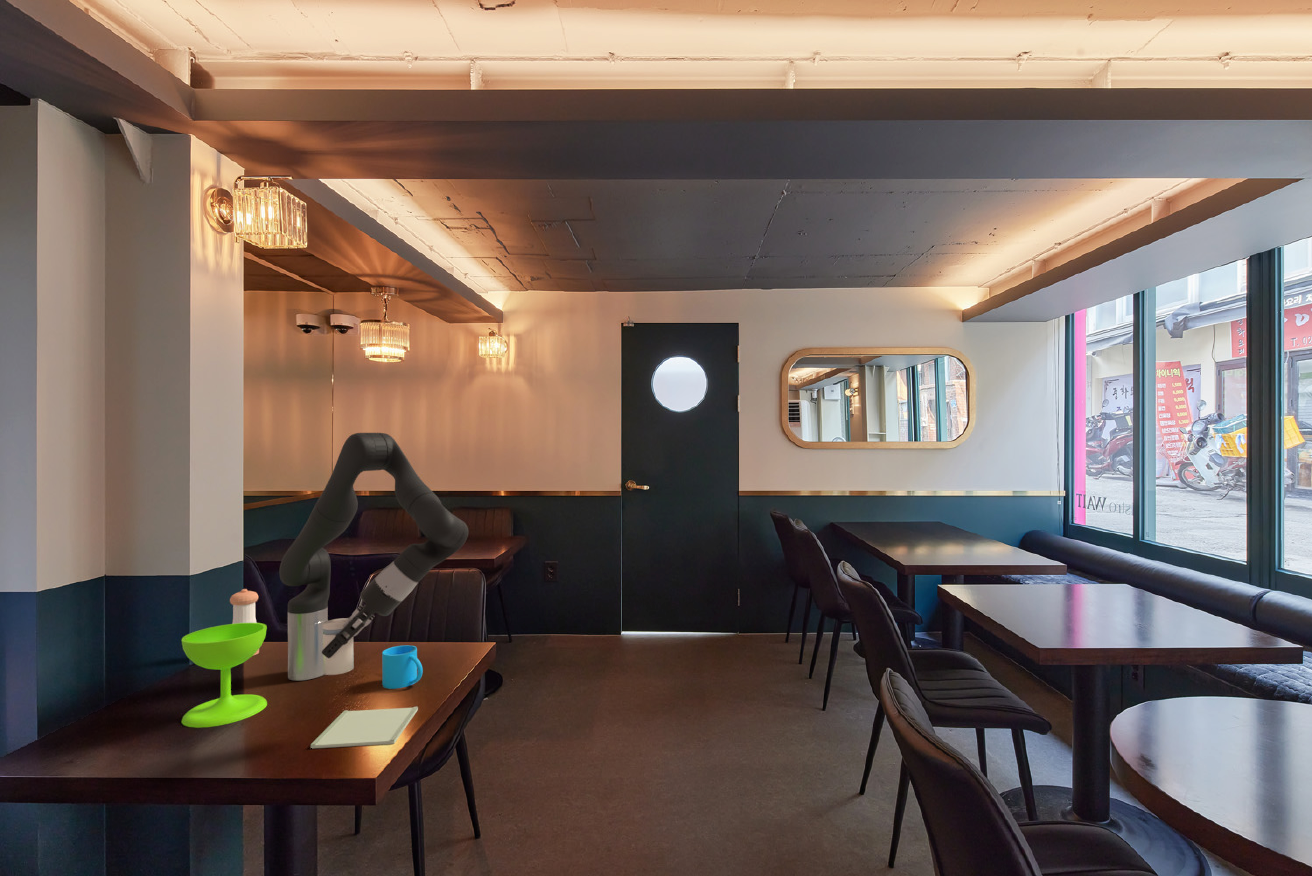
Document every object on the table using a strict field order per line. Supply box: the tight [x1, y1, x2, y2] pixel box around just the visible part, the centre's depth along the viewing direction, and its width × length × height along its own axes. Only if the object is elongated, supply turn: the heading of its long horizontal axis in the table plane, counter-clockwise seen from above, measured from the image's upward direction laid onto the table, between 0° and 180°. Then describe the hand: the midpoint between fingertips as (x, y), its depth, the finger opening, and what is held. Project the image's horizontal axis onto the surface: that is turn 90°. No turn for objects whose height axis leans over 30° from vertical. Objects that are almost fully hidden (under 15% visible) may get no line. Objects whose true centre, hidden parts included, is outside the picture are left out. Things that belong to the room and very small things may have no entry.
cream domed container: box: [323, 617, 355, 676], centre depth 127 cm, size 6×6×10 cm
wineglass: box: [181, 622, 268, 729], centre depth 139 cm, size 16×16×18 cm
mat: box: [310, 706, 419, 749], centre depth 130 cm, size 16×16×1 cm
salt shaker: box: [229, 588, 260, 657], centre depth 180 cm, size 7×7×19 cm
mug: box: [381, 644, 424, 690], centre depth 155 cm, size 12×8×8 cm
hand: (329, 650), depth 127 cm, fingers closed on cream domed container, 5 cm apart
